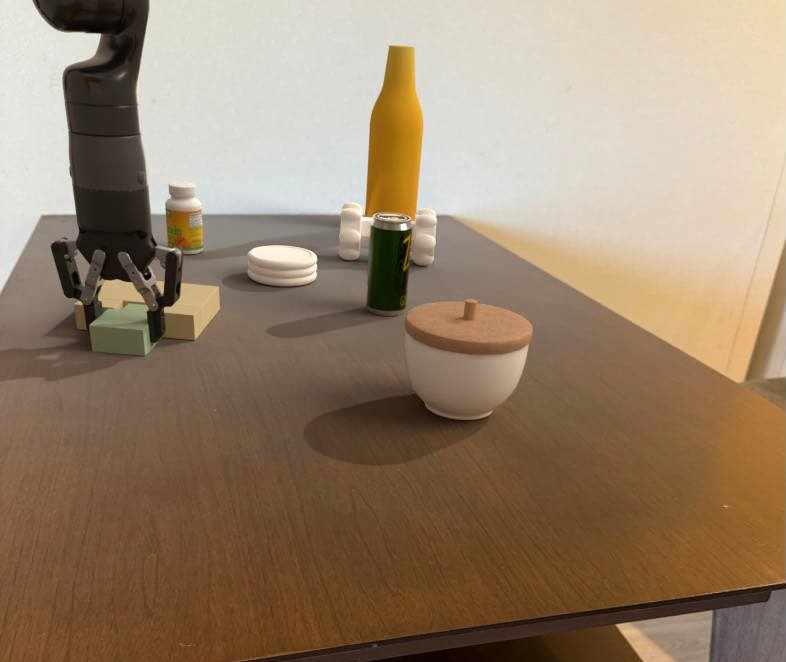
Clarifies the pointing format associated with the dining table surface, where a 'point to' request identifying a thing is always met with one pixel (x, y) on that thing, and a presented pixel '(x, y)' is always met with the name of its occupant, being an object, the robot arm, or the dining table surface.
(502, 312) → the lidded bowl
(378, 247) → the beer can
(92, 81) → the robot arm
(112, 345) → the pad
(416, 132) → the beer bottle
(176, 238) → the supplement bottle
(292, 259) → the coaster
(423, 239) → the dog bone
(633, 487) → the dining table surface
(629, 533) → the dining table surface
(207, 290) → the notch pad
